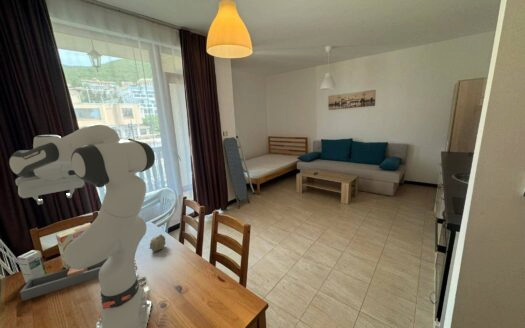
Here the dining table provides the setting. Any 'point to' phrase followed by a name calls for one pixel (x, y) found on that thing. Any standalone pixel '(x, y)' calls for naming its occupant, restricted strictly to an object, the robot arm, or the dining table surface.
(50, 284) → the charcoal chute
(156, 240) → the beige rough lump
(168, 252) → the dining table surface
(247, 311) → the dining table surface
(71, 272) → the terracotta block
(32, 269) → the syrup box
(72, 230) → the coffeecake box
